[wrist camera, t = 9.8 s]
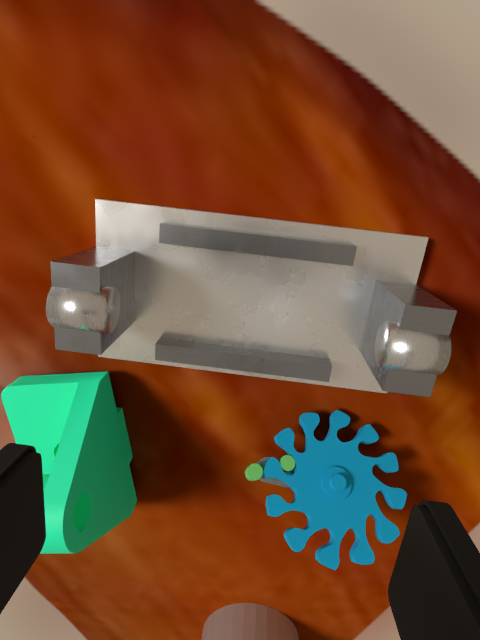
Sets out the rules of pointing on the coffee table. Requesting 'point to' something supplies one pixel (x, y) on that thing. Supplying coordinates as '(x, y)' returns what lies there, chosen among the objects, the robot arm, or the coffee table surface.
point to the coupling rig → (253, 299)
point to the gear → (331, 488)
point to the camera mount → (75, 453)
